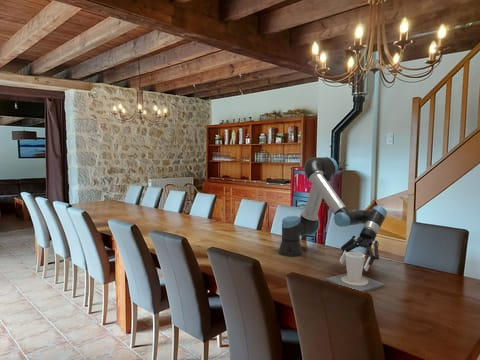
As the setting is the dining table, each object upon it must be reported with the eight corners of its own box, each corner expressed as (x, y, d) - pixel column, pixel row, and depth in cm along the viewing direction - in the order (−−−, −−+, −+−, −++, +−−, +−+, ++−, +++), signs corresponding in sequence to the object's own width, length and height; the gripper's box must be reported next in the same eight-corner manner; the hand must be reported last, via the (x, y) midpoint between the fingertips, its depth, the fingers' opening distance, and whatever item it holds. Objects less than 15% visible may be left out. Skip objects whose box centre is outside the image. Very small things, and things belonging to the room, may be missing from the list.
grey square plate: (325, 280, 178) (325, 277, 178) (352, 273, 188) (352, 270, 188) (356, 294, 161) (356, 290, 161) (384, 286, 171) (384, 282, 171)
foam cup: (351, 283, 169) (351, 257, 168) (340, 277, 178) (341, 252, 177) (368, 282, 172) (369, 256, 170) (357, 275, 180) (358, 251, 179)
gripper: (395, 240, 173) (379, 277, 165) (351, 231, 192) (334, 263, 184) (390, 232, 169) (373, 268, 161) (345, 223, 188) (328, 255, 180)
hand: (352, 266), depth 172 cm, fingers open, 13 cm apart
